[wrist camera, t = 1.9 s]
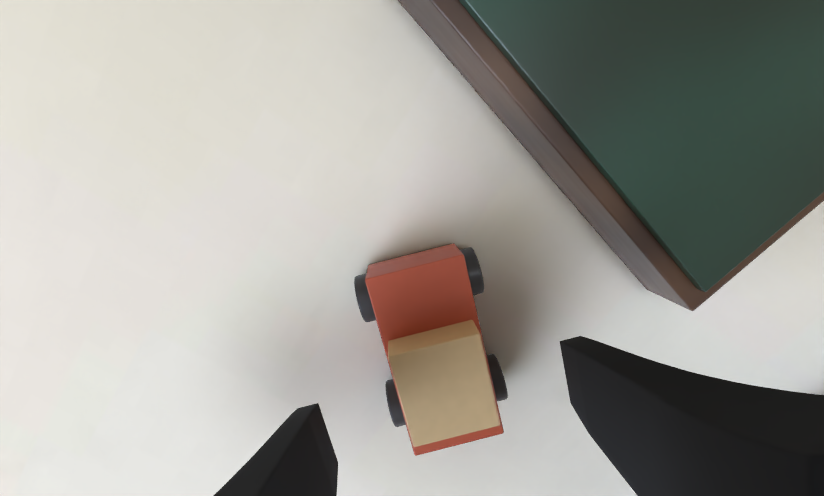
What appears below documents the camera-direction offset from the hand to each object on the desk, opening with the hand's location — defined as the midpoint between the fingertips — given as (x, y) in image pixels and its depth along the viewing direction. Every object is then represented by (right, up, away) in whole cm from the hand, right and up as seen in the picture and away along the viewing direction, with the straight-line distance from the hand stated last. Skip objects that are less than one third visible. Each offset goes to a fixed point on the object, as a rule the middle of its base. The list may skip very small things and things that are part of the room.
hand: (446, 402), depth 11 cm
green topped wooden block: (+7, +12, +3) cm, 14 cm away
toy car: (0, +1, +5) cm, 5 cm away
